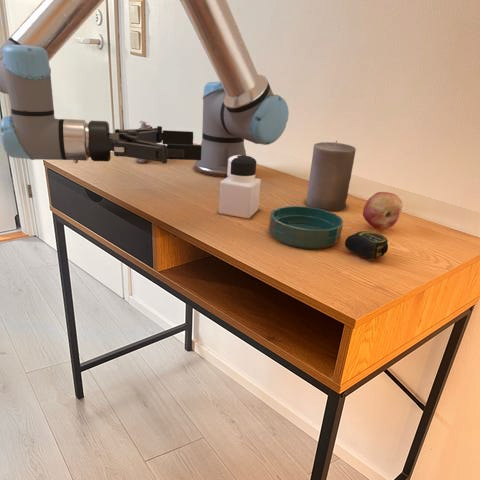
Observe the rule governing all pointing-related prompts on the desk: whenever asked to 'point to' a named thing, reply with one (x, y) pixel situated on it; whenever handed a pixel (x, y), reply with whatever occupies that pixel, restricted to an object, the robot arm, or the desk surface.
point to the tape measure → (367, 244)
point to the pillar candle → (330, 175)
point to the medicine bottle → (240, 188)
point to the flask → (144, 126)
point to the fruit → (382, 210)
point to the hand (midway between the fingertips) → (197, 145)
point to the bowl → (305, 227)
